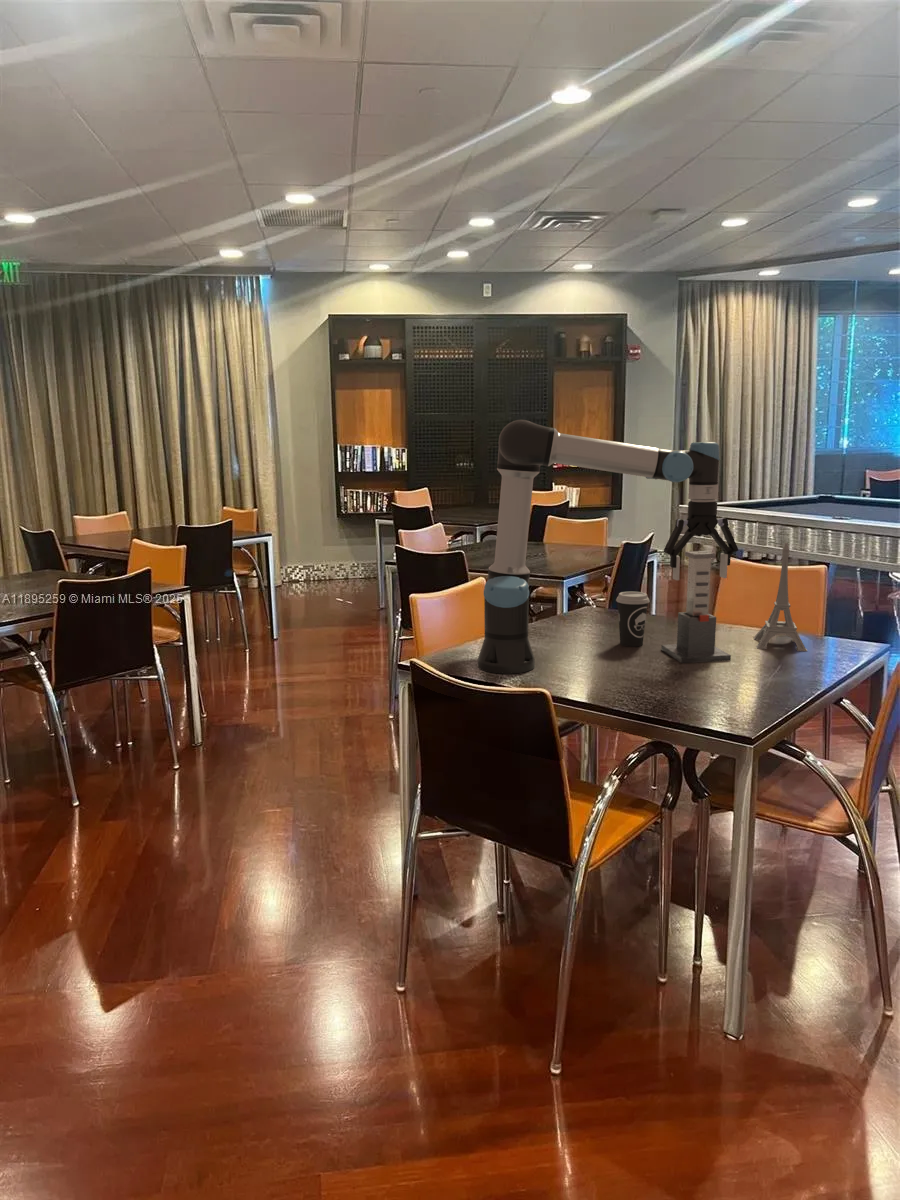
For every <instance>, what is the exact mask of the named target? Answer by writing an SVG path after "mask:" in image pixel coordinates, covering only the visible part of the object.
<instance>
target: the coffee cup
mask: <svg viewBox="0 0 900 1200" xmlns="http://www.w3.org/2000/svg"><path fill="white" fill-rule="evenodd" d="M615 602H617V611H618V612H617V613H618V627H619V629H618V630H619V631H618V632H619V644H620V645H621V646H623V647H632V648H636V647H641V646H643V644H644V636H645V630H646V628H645V627H646V621H647V614H648V613H647V611H648V606H649V603H650V598H649V597H648V594H647V593H645V592H642V591H621V592H619V593H618V596H617V597H616V599H615Z"/></svg>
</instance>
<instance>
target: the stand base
mask: <svg viewBox="0 0 900 1200" xmlns="http://www.w3.org/2000/svg"><path fill="white" fill-rule="evenodd" d="M677 614H678V616H677V630H676V631H677V635H676V643H673V644H670V643H669V644H661V648H660V650H661V651H662V652H664V653H665V654H666V655H669V656H670V657H671V658H673V659H675V660H676V661H678V662H679V663H681V664H688V663H708V662H728V661H729V662H730V661H731V659H732V655H731V654H730V653H728V652H726V651H724V650H723V649H720V648H718V647H717V646H716V631H717V630H716V627H717V617H716V616H714V615H713V614H710V613H709V612H708V615H699V617H693V618H691V617H689V616H687V615H686V611H685V612H683V611H682V612H677Z"/></svg>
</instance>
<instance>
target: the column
mask: <svg viewBox="0 0 900 1200" xmlns="http://www.w3.org/2000/svg"><path fill="white" fill-rule="evenodd" d="M684 556H685V557H687V558H688V565H687V567H688V568H687V588H686V589H687V591H686V608H685V609H686V610H685V612H686V615H687V616H689V617H691V618H693V617H699V615H708V613H709V607H710V606H709V605H710V589H711V587H710V586H711V567H712V559H716V553H714V552H711V551H708V550H690V551H689V550H688V551H686V550H685V551H684Z"/></svg>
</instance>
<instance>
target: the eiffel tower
mask: <svg viewBox="0 0 900 1200" xmlns="http://www.w3.org/2000/svg"><path fill="white" fill-rule="evenodd" d="M788 544H789V543H788V542H784V546H783V548H782V550H781V556H782V561H781V570H780V577H779V583H778V587H777V588H778V590H777V594H776V600H775V601H774V602H773V605H774V607H773V609H772V611H771V613H770V615H769V617H768V620H764V622H765V624H764V625H763V626H762V627H761V629H760V630H759V631H758V632H757V633H756V634H755V635H754V636H753V640H754V641H758V643H757V644H756V646H755V647H756V649H758V650H767V649H768V643H769V642H770V640H771V639H772V638H774V637H775V636H778V635H785V636H788V637H790V638H791V639H790V640H791V642H792V643H795V645H796V648H795V650H796V651H797V652H808V649H807V648H806V647H805V644H804V642H803V640H802V639H801V637H800V635H799V633H798V631H797V630H798V627H797V626H796V623H795V622H794V621H793V618H792V614H791V610H790V608H791V604H790V601H789V584H788V583H789V578H788V577H789V575H788V574H789V573H788V571H789V556H790V555H791V553H790V548H789V545H788ZM781 611H783V615H784V616H783V617H784V621H779V617H780V613H781Z"/></svg>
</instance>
